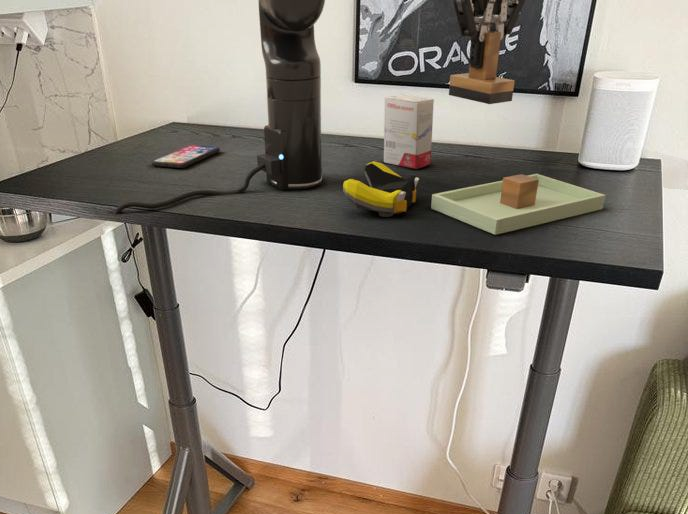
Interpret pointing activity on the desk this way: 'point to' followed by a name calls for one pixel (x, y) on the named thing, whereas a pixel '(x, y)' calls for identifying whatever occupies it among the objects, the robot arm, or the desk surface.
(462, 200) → the tray
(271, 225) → the desk surface
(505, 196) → the wooden block
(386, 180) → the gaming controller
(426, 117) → the ink box
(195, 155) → the smartphone
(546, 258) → the desk surface
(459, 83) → the brush
